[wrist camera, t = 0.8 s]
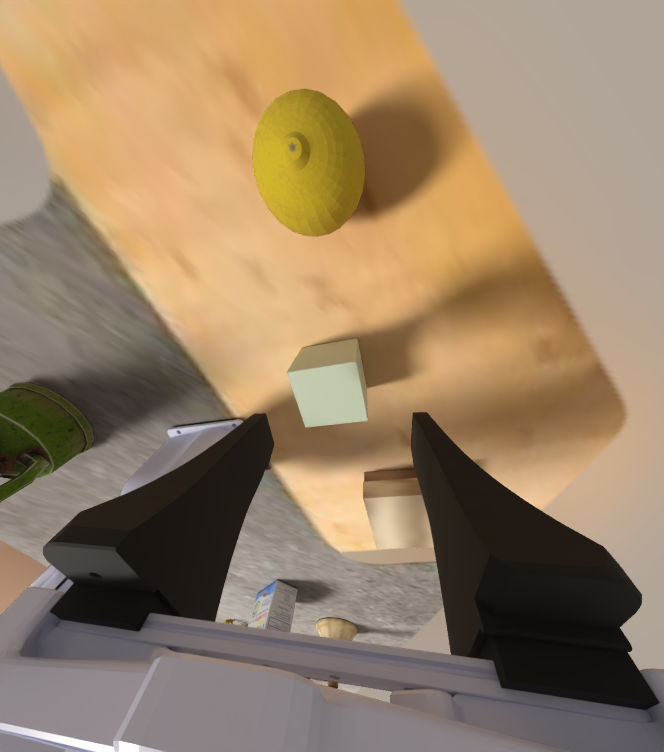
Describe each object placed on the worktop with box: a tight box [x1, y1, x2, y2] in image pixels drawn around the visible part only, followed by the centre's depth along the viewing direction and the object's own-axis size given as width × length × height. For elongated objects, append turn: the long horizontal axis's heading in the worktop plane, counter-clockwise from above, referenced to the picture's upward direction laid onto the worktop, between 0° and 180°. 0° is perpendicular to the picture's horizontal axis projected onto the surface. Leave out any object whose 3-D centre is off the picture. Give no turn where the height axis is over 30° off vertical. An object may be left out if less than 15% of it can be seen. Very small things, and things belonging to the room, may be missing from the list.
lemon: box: [252, 89, 365, 237], centre depth 13 cm, size 6×6×8 cm
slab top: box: [363, 478, 434, 548], centre depth 27 cm, size 9×9×2 cm
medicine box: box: [248, 580, 297, 632], centre depth 41 cm, size 8×4×9 cm, turn 145°
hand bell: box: [316, 618, 357, 689], centre depth 42 cm, size 8×8×16 cm
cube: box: [287, 338, 368, 428], centre depth 20 cm, size 5×5×5 cm
